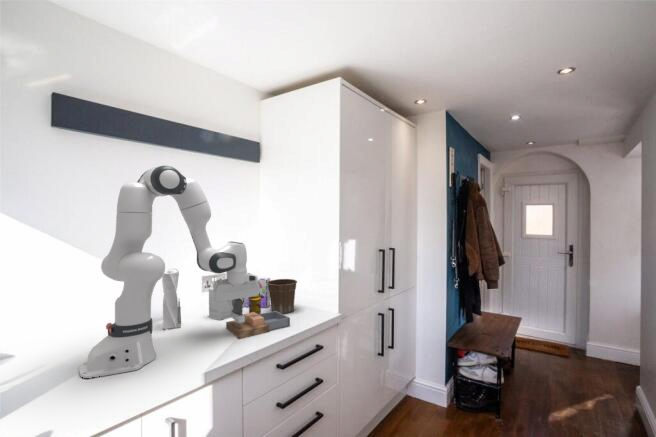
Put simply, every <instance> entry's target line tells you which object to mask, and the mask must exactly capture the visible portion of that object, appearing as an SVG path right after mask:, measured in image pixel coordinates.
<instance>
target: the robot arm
mask: <svg viewBox="0 0 656 437" xmlns="http://www.w3.org/2000/svg"><path fill="white" fill-rule="evenodd" d="M167 196H171V197H172V198H173V199H174V200H175V202H176V204H177V206H178V209H179V211H180V213H181V216H182V217H183V220H184V221H185V223H186V225H187V228H188V230H189V234H190V236H191V238H192V242H193V244H194V247H195V251H196V264H197V266H198V268H199V269H200V270H202V271H204V272H210V273H214V274H223V273H226V278H224V279H218V280H216V281H214V282H213V283H212V284H213V285H212V288H213V289H214V294H213V300H214V301H215V302H224V301H227V302H228V304H229V305H230V310H234V309H235V308H234V307H235V306H234V305H232V304H231V303H232V300H235V299H242V308H243V309H244V308H245V307H244V304H245V302H246V300H247V297H253V296H258V295H259V292H260V291H259V283H258V281H256V280H257V279H258V277H259V276H257V275H256V274H252V273H250V272H248V268H247V262H248V254H247V253H248V252H247V248H246V245H245V243H243V242H237V241H227V243H226V244H225V245H223V246H222V247H220V248H218V249H215V248H214V247H213V246H212V245H211V242H210V238H209V236H208V233H207V230H206V229H207V228H206V227H207V224H208V223H209V221H210V220H211V217H212V210H211V206H210V204H209V202H208V199H207V197H206V194H205V193H204V190H203V189H202V187H201V186H200V184H199V182H198V181H197V180H196V179H195V178H193V177H186V176H184V175H183V174H182V173H181V172H180V171H179V170H178V169H176V168H175V167H173V166H170V165H160V166H155V167H151V168H150V169H148V170H146V171H145V172H143V173H142V174H141V175H140V177H139V178H138V180H137V181H131V182H130V181H129V182H128V183H127V182H126V183H124V184H123V185H122V186H121V187H120V190H119V193H118V197H117V202H116V204H117V205H116V215H115V216H116V217H115V218H116V219H115V234H114V239H113V241H112V245H111V248H110V250H109V252H108V253H107V255H105V257H104V258H103V259H102V261H101V265H100V269H101V272H102V274H103V275H105V276H106V277H107V278H109V279H111V280H113V281H116V282H121V283H122V282H123V289H122V291H121V294H120V296H119V297H117V298H116V299H115V302H114V322H113V323H112V322H108V323H107V324H106V325H105V328H106V330H107V335H106V336H105V337H104V338H103V339H102V340H101V341H99V342H98V343H96V344H95V345H94V346H93V347H92V348H91V350H90V351H89V354H88V358H87V360H86V361H84V362H83V363H81V365H80V367H79V371H78V374H80V375H79V376H81V377H80V378H82V377H83V378H82V379H84V378H89V379H93V378H92V377H95V378H100V377H106V376H110V375H116V374H122V373H126V372H127V373H128V372H132V371H138V370H140V369H141V368H143V367H144V366H145V365H148V364H149V363H151V362H153V361H155V359H156V358H157V353H156V352H155V347H154V343H153V337H152V335H153V331H154V330H153V322H154V321H153V318H152V316H151V315H152V297H153V292H154V289H155V286H156V285H157V283H158V282H159V280H162V276H163V274H164V273H166V272H165V271H166V263H165V260H164V259H163V258H162V257H160V256H158V255H156V254H154V253H151V252H145V251H143V248H144V245H145V243H146V241H147V240H148V239H149V238H151V235H152V233H153V231H152V230H153V205H154V204H153V203H154V201H155V200H156V198H157V197H167ZM99 376H100V377H99Z"/></svg>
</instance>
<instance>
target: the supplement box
mask: <svg viewBox="0 0 656 437" xmlns="http://www.w3.org/2000/svg"><path fill="white" fill-rule="evenodd" d="M213 294H214V289H213V287H210V288H208V318H210V319H213V320H217V321H221V320H224V319H228V318H231V317H230V305H229V304H228V302H227V301H224V302H215V301H214V300H213ZM231 304H232V303H231Z"/></svg>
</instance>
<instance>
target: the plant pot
mask: <svg viewBox="0 0 656 437" xmlns="http://www.w3.org/2000/svg"><path fill="white" fill-rule="evenodd" d="M297 283H298V280H297V279H293V278H278V279H272V280H271V279H270V281H268V282H267V284H268V288H269V292H270V309H271V311H270V312H273V311H277V312H279V313H281V314H283V315H285V314H289V313H292V312H294V309H295V297H296V288H297Z"/></svg>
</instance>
